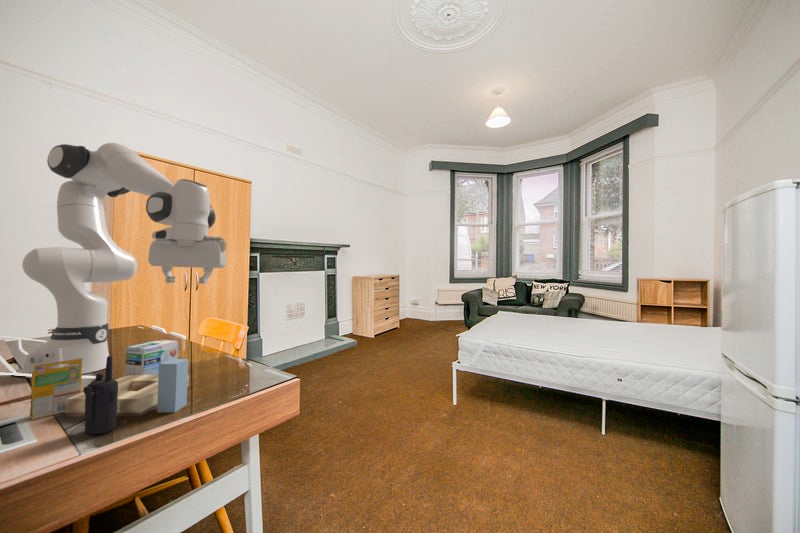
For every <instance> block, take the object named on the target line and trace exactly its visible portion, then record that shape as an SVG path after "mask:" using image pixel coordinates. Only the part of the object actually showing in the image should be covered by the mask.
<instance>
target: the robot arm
mask: <svg viewBox="0 0 800 533" xmlns="http://www.w3.org/2000/svg"><path fill="white" fill-rule="evenodd" d="M46 163H47V166H48V168H49V169H50V171H51V172H52V173H53V174H56V175H58V176H60V177H62V178H65V179H70V180H68V181H65V182H63V183H62V184H61V185H60V186H59V187H60V188H59V190H58V194H57V200H56V211H57V212H56V213H57V214H56V216H57V230H58V232H59V233H60V234H61V235H62V236H63V237H64V238H65V239H67V240H69V241H71V242H74V243H75V244H78V245H79V246H80V247H81V248H80V247H63V246H62V247H61V246H55V247H53V246H52V247H39V248H34V249H32V250H31V251H29V252H28V253H26V255H25V256H24V258H23V259H22V270H23V272H24V274H25V275H26V276H27V277H28V278H30V279H31V280H33V281H35V282H37V283H39V284H40V285H42V286H43V287H45V288H46V289H47V290H48V291H49V292H50V293H51V294H52V296H53V298H54V300H55V303H56V310H57V312H56V313H57V325H56V327H55V328H52V329H48V330H47V331H48V332H47V334H51V335H50V338H49V340H47V341H46V342H44V343H42V344H41V345H40V346H38V347H37V348H35V349H32V350H31V351H30V352H28V353H27V355H26V356H25V359H24V365H23V367H21V368H18V369H16V370H15V371H16V372H20V373H29V374H32V372H34V366H35V365H41V364H48V363H55V362H61V361H67V360H74V359H81V358H82V375H83V374H88V373H93V372H97V371H98V372H99V371H101V370H104V369H105V370H106V362H107V357H108V356H110V353H109V345H108V335H109V331H110V330H109V329H110V325H109V323H108V312H109V311H108V310H109V309H108V308H109V303H108V300H107V299H106V298H105V297H104V296H102V295H99V294H97V293H95V292H91V291H87V289H86V288H85V286H84V284H85V283H116V282H122V281H128V280H130V279H132V278H133V277H134V276H135V275H136V273H137V271H138V262H137V260H136V258H135V257H134V255H132V254H131V253H130V252H127V251H126V250H124V249H123V248H121V247H120V246H119V245H117V244H116V242H115V241H114V239H113V238H112V237H111V235H110V233H109V231H108V230H109V229H108V227H107V221H106V215H105V214H106V212H105V206H104V199H105V196H106V195H107V196H108V197H110V198H116V197H118V196H120V195H121V196H122V195H125V194H127V193H129V192H134V193H138V194H141V195H144V196H149V197H148V198H147V199H146V203H145V211H146V214H147V216H148V217H149V218H150V220H151V221H153V222H154V223H157V224H160V225H163V226H166V225H167V226H169V227H167V228H164V229H159V230H156V231H155V230H154V231H153V232H151V233H152V234H151V238H152V240H153V241H152V242H151V243H150V245H149V249H148V258H147V261H148V263H149V265H150V266H152V267H161V271H162V273H163V275H164V277H165V280H164V281H165V283H171V284H172V283H173V284H174V283H175V282H176V276H173V274H172V272H171V271H173V268H174V267H176V268H199V269H200V268H201V269H202V268H203V272H204V273H203V275H202V277H199V278H198V280H199V281H198V284H201V285H203V284H205V285H208V283H209V278H210V276H211V275H213V270H214V269H224V268H225V267H226V264H227V254H226V249H227V241H226V240H225V239H223V238H222V236H210V235H209V231H210V230H209V229H211V228H212V227H213V225H214V224H215V222H216V213H215V210H214V208H213V206H212V205H211V197H210V196H211V194H210V190H209V188H208V187H207V186H206V184H203V183H200V182H197V181H195V180H190V179H184V178H183V179H177V180H176V182H175V183H174V182H173V181H172V180H170V179H169V178H167V177H166V176H165V175H164V174H162V173H161V172H159V171H158V170H157V169H156V168H155V167H153V166H152V165H151V163H150V164H149V163H148V162H147V161H146V160H145V159H144V158H143V157H141V156H140V155H139V154H138V153H137V152H135V151H133V150H132V149H130V148H129V147H127V146H124V145H123V144H120V143H114V142H108V143H104V144H102V145H100V146H99V147H98V149H97V150H96V151H95V150H89V149H88V148H86V147H85V146H84V145H72V144H67V143H63V144H59V145H55V146H53V147H52V149H50V151H49V153H48V156H47V162H46ZM66 366H69V364H68V363H67V364H57V365H54V366H49V367H48V368H49V369H52V368H61V367H66ZM26 378H30V379H32V377H26Z"/></svg>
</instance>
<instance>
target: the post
mask: <svg viewBox="0 0 800 533" xmlns="http://www.w3.org/2000/svg"><path fill="white" fill-rule="evenodd" d="M188 375H189V358H178V359H170V360H168V361H165V362H162V363H160V364H159V376H158V399H157V407H156V413H176V412H178V411H179V410H181V409H182V408H184V407H186V406H187V404H188V389H187V384H188Z"/></svg>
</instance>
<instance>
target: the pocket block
mask: <svg viewBox="0 0 800 533" xmlns="http://www.w3.org/2000/svg"><path fill="white" fill-rule="evenodd" d="M158 376H159V375H127V376H125V375H124V376H122V377H119V378H117V379H115V380H116V381H117V382H118V398H117V413H116V417H142V416H144V415H146V414H147V413H149V412H151V411H153V410H154V409H157V399H158ZM189 384H190V374H188V384H187V390H189V388H190V385H189ZM64 417H70V418H71V417H72V418H73V417H78V418H79V417H85V393H84V392H81V393H80V394H77V395H75V396H72V397H70V398H67V399H66V407H65V412H64Z"/></svg>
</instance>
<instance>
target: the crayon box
mask: <svg viewBox="0 0 800 533" xmlns="http://www.w3.org/2000/svg"><path fill="white" fill-rule="evenodd" d="M67 363H68V364H69V366H66V367H61V368H52V369H49V368H48V367H49V366H54V365H57V364H67ZM82 375H83V374H82V358H81V359H74V360H67V361H61V362H55V363H48V364H41V365H35V366H34V372H32V378H31V388H30V389H31V391H30V392H31V393H30V408H29V412H30V413H29V417H30V420H31V421H34V420H33V419H35V420H37V419H41V418H47V417H49V416H54V415H57V414H61V413H62V414H63V413H65V407H66V399H67V398H70V397H72V396H75V395H77V394H80V393H82V377H83V376H82Z"/></svg>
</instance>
